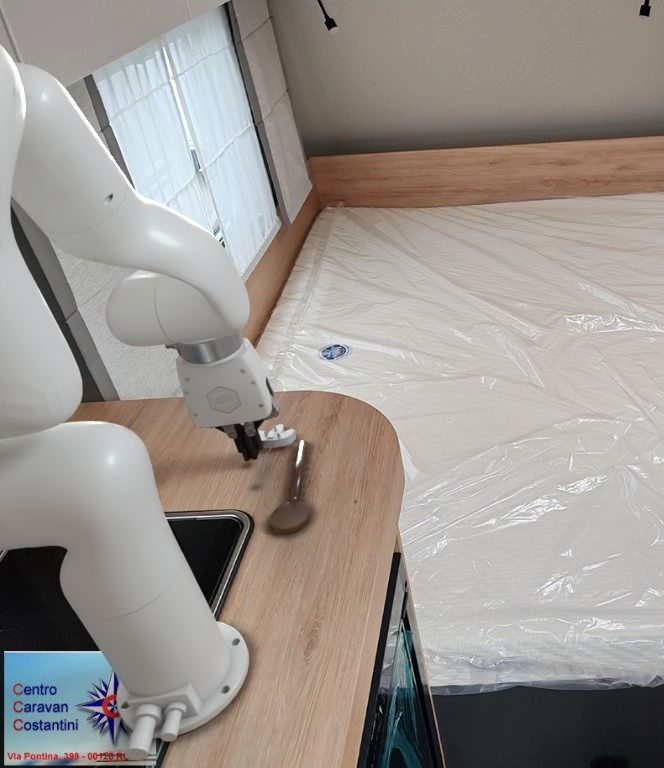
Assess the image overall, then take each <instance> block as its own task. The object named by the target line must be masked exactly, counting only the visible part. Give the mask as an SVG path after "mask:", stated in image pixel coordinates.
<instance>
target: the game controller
mask: <svg viewBox="0 0 664 768" xmlns="http://www.w3.org/2000/svg"><path fill="white" fill-rule="evenodd" d="M258 432H259V435H260V437H261V440H262V444H263V447H262V449H268V448H269V450H268V451H267V452H266V454H265V455H264V459H263V468H262V471H261V473H260V474H258V476H257V479H256V482H255V487H256V488H258V480H259V478H260V475H261V476H262V475H263V473H264V470H265V467H266V458H267V455H268V453H270V452H271V450H272V448H281V447H286V446H289V445H291V444H292V443H293V442H294V441H295V440H296V439H297V434H296V429H294V428H289V429H287V430H285V428H284V425H283V423H280V424H277V425H273V427H272V428H271V430H270V431H269V432H268V431H267V430H260V429H258Z"/></svg>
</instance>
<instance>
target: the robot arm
mask: <svg viewBox="0 0 664 768" xmlns="http://www.w3.org/2000/svg"><path fill="white" fill-rule="evenodd" d="M11 199H13V200H14V201H15V202H16V203H17V204H18V205H19V206H20V207H21V208H22V210H23V211H24V212H25V213H26V214H27V215H28V216H29V218H30V219H31V220H32V221H33V222H34V223H35V224H36V226H37V227H38V228H39V229H40V230H41V232H42V233H44V234H45V236H46V237H47V238H48V239H49V240H50V241H51V243H52V244H53V245H54V246H55V247H56V248H57V249H59V250H60V251H62V252H64V253H65V254H67V255H70V256H72V257H75V258H78V259H82V260H86V261H89V262H93V263H94V262H95V263H99V264H104V265H107V266H113V267H119V268H124V269H131V270H137V271H136V272H134V273H132V274H130V275H129V276H127V277H126V278H124V279H123V280H121V282H120V281H119V283H118V284H117V285H116V286H115V287H114V288H113V290H112V291H111V292H110V294H109V296H108V298H107V300H106V304H105V321H106V325H107V327H108V330H109V332H110V333H111V335H112V336H113V337H114V338H115V339H116V340H117V341H119V342H120V343H123V344H124V345H128V346H131V347H141V348H142V347H143V348H144V347H154V346H161V345H163V346H164V347H165V348H166V350H170V349H172V350H176V352H177V354H178V356H177V357H176V359H175V364H176V372H177V376H178V381H179V384H180V389H181V394H182V397H183V399H184V404H185V406H186V409H187V412H188V415H189V417H190V420H191V421H192V423H193V424H194V425H195V426H196V427H198V428H202V429H216V430H218V431H220V432H221V433H224V434H226V436H227V438H228V439H230V440H233V442H234V445H235V447H236V450H237V453H238V454H241V456H242V457H243V460H244V462H249V461H250V460H252V461H256V460H258V458H259V454H260V451H262V450H263V448H262V447H263V444H262V440H261V437H260V435H259V432H258V431H259V428H260V427H261V426H262V425H263V423H264V422H265V421H269V420H272V419H274V418H277V417H279V415H280V412H281V407H280V406H279V404H278V403H277V401H276V399H275V391H274V388H273V384H272V383H271V379H270V377H269V374H268V372H267V370H266V368H265V365H264V364H263V361H262V360H261V358H260V356H259V353H258V352H257V351H256V349H255V347H254V345H253V344H252V343H251V341H250V340H249V339H248V338H247V337H243V333H242V330H243V329H244V328H245V326H246V325H247V323H248V321H249V318H250V312H251V310H250V309H251V308H250V307H251V305H250V303H251V302H250V298H249V294H248V290H247V288H246V285H245V283H244V281H243V278H242V276H241V274H240V272H239V271H238V269H237V268H236V264H235V263H234V262H233V260H232V258H231V257H230V255H229V254H228V252H227V251H226V248H225V247H224V246H223V245H222V243H221V242H220V241H219V240H218V239H217V237H215V235H214V234H212V233H211V232H210V231H208V230H207V229H206V228H204V227H203V226H201V225H200V224H198V223H197V222H195V221H193V220H191V219H189V218H188V217H186V216H184V215H183V214H180V213H179V212H176V211H175V210H174V209H171V208H169V207H168V206H165V205H164V204H162V203H160V202H159V203H158V202H156V201H155V200H151V199H149V198H147V197H144V196H143V195H140V194H139V193H138V192H137V191H136V190H135V189H134V188H133V186H132V184H131V183H130V181H129V180H128V178H127V177H126V175H125V174H124V172H123V171H122V170H121V168H120V166H119V165H118V163H117V162H116V160H115V159H114V157H113V156H112V155H111V154H110V152H109V150H108V149H107V147H106V146H105V144H104V143H103V142H102V140H101V138H100V137H99V135H98V134H97V133H96V131H95V129H94V128H93V126H92V125H91V124H90V122H89V121H88V120H87V118H86V116H85V115H84V113H83V112H82V111H81V109H80V108H79V106H78V105H77V103H76V102H75V100H74V99H73V97H72V96H71V95H70V93H69V92H68V90H67V89H66V88H65V87H64V85H63V84H62V83H61V82H60V81H59V80H58V79H57V78H56V77H54V76H53V75H52V74H51V73H49V72H48V71H46V70H43V69H42V68H40V67H37V66H35V65H32V64H28V63H23V62H15V61H14V60H13V59H12V57H11V55H10V54H9V53H8V52H7V50H6V49H5V47H4V46H3V45H2V44H0V551H9V550H19V549H24V548H25V549H26V548H41V547H52V546H53V547H61V548H63V549H66V550H67V552H66V554H65V556H64V558H63V560H62V563H61V567H60V571H59V583H60V588H61V591H62V593H63V595H64V597H65V599H66V600H67V602H68V603H69V605H70V607H71V609H72V610H73V611H74V612H75V614H76V616H77V617H78V618H79V620H80V621H81V623H82V624H83V625H82V626H84V628H85V629H86V631H87V632H88V634H89V635H90V637H91V638H92V640H93V641H94V643H95V645H96V646H97V648H98V649H99V651H100V652H101V654H102V655H103V657H104V658H105V660H106V662H107V663H108V665H109V666H110V667H111V669H112V670H113V672H114V673H115V676H116V677H117V678H118V680H119V683H118V686H117V690H116V697H115V701H116V709H117V711H118V714H119V716H120V718H121V720H122V721H123V722H124V724H125V725H126V727H128V728H129V729H130V730H131V731H132V733H130V736H129V740H128V743H127V746H126V749H125V752H124V756H125V757H126V758H127V759H129V760H131V761H143V760H144V759H147V758H148V756H149V753H150V751H151V747H152V743H153V739H161V740H162V741H163V742H174V741H176V739H177V737H178V736H180V735H183V734H186V733H189V732H192V731H194V730H196V729H198V728H199V727H201V726H203V725H205V724H206V723H208V722H209V721H211V720H212V719H213V718H215V717H216V716H218V715H220V714H221V712H222V711H223V710H224V709H226V708H227V707H228V706H229V704H230V703H231V702H232V701H233V699H235V697H236V696H237V694H238V693H239V691H240V689H241V688H242V687H243V685H244V683H245V680H246V677H247V675H248V672H249V666H250V652H249V649H248V645H247V643H246V641H245V640H244V637H243V635H241V633H240V632H239V631H238V630H237V629H236V628H235V627H233V626H231V625H230V624H227V623H224V622H221V621H217V620H216V618H215V616H214V614H213V612H212V610H211V607H210V606H209V603H208V602H207V600H206V597H205V595H204V594H203V591H202V590H201V587H200V586H199V583H198V582H197V579H196V577H195V575H194V573H193V571H192V569H191V567H190V565H189V563H188V561H187V559H186V556H185V555H184V553H183V551H182V549H181V547H180V545H179V543H178V541H177V539H176V537H175V535H174V532H173V531H172V528H171V526H170V524H169V522H168V519H167V517H166V515H165V514H166V513H165V511H164V509H163V506H162V503H161V499H160V496H159V491H158V487H157V483H156V479H155V475H154V470H153V465H152V461H151V457H150V454H149V451H148V449H147V447H146V445H145V443H144V442H143V440H142V439H141V437H140V436H139V435H138V434H136V432H134V431H133V430H131V429H129V428H128V427H126V426H123V425H121V424H117V423H114V422H108V421H100V420H99V421H98V420H97V421H94V420H82V421H81V420H80V421H70V422H66V421H67V420H68V419H70V418H71V417H72V416H73V415H74V414H75V413H76V411H77V409H78V408H79V406H80V404H81V402H82V399H83V392H84V391H83V379H82V376H81V371H80V368H79V366H78V364H77V361H76V359H75V357H74V354H73V352H72V349H71V348H70V346H69V344H68V342H67V340H66V338H65V336H64V334H63V332H62V330H61V328H60V326H59V324H58V323H57V320H56V319H55V317H54V314H53V313H52V310H51V309H50V307H49V305H48V302H46V299H45V298H44V296H43V294H42V292H41V290H40V288H39V287H38V284H37V282H36V281H35V279H34V276H33V275H32V272H31V271H30V269H29V267H28V265H27V263H26V261H25V259H24V257H23V255H22V253H21V250H20V248H19V246H18V243H17V241H16V238H15V234H14V230H13V226H12V218H11V217H12V214H11V211H12V210H11Z"/></svg>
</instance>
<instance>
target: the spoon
mask: <svg viewBox="0 0 664 768" xmlns="http://www.w3.org/2000/svg"><path fill="white" fill-rule="evenodd" d="M308 451H309V442H308V441H307V440H305V439H304V440H300V441H299V442H298V444H297V447H296V453H295V459H294V464H293V469H292V474H291V480H290V484H289V485H290V486H289V491H288V495H287V502H285V503H283V504H281V505H280V506H278V507H277V508H276V509H274V511H273V512H272V513H271V515H270V525H271V528H272V529H273V530H274V532H276V533H277V534H281V535H291V534H295V533H298V532H300V531H302V530H303V529H305V528H306V527H307V526H308V525H309V523H310V522H311V518H312V513H311V510H310V507H309V505H308V504H306V503H305V502H303V501H300V497H301V492H302V485H303V480H304V474H305V468H306V462H307V457H308Z"/></svg>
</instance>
